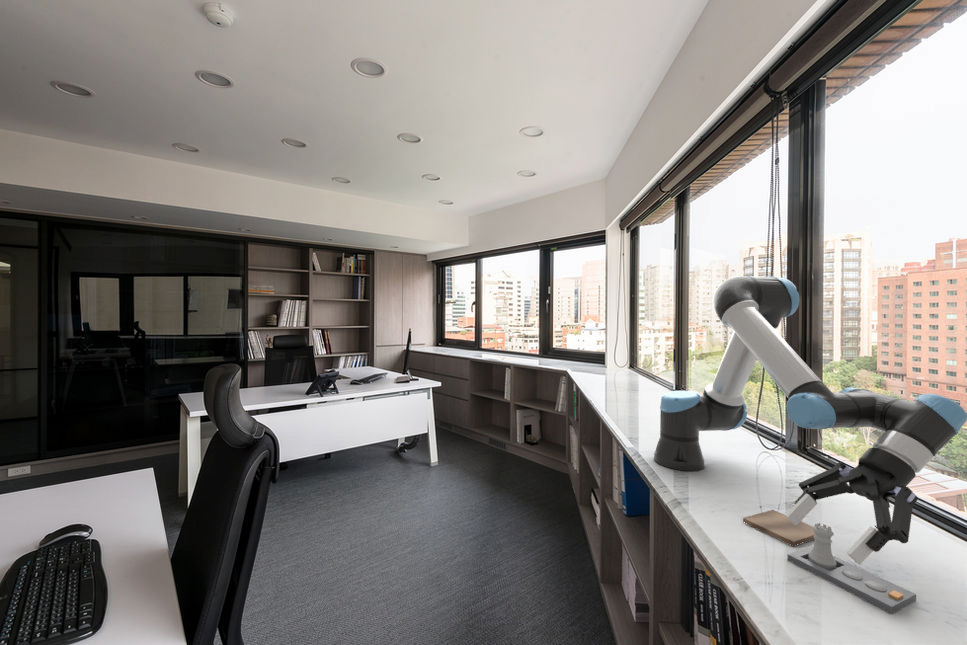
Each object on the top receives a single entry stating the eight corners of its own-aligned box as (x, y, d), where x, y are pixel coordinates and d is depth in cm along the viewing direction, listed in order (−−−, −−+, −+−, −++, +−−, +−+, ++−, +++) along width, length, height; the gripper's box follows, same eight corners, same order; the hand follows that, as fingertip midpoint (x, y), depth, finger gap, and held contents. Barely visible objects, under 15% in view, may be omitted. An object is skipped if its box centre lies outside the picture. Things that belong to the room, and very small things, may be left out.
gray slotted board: (787, 560, 82) (787, 552, 82) (811, 551, 85) (811, 543, 85) (891, 613, 67) (892, 604, 67) (915, 600, 71) (916, 591, 71)
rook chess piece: (830, 576, 77) (831, 534, 77) (802, 563, 81) (803, 523, 81) (841, 570, 79) (842, 529, 79) (814, 557, 83) (815, 518, 83)
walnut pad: (743, 522, 97) (743, 517, 97) (772, 513, 101) (772, 509, 101) (793, 546, 87) (793, 541, 87) (823, 535, 91) (824, 531, 91)
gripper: (987, 502, 68) (900, 594, 67) (845, 452, 93) (781, 519, 92) (958, 471, 67) (871, 563, 67) (823, 429, 92) (759, 496, 92)
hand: (818, 538), depth 79 cm, fingers open, 13 cm apart
